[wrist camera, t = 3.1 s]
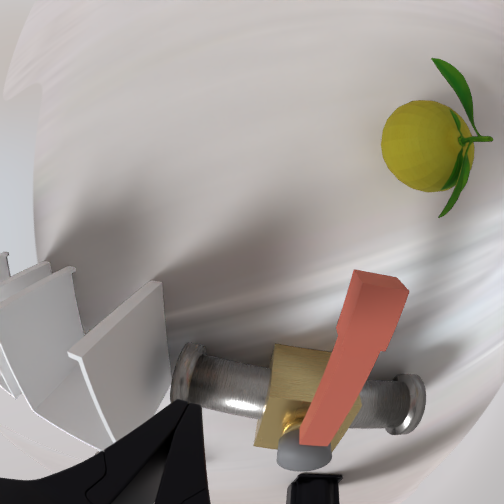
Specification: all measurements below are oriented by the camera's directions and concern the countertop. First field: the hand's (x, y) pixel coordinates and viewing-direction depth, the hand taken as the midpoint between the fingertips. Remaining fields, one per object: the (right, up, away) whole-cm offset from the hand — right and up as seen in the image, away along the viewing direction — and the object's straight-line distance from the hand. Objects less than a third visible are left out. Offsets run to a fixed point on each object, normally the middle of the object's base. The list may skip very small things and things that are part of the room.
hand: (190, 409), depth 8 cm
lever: (+6, -3, +6) cm, 9 cm away
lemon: (+13, +13, +9) cm, 20 cm away
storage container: (-18, -1, +17) cm, 25 cm away
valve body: (+7, -6, +14) cm, 17 cm away
